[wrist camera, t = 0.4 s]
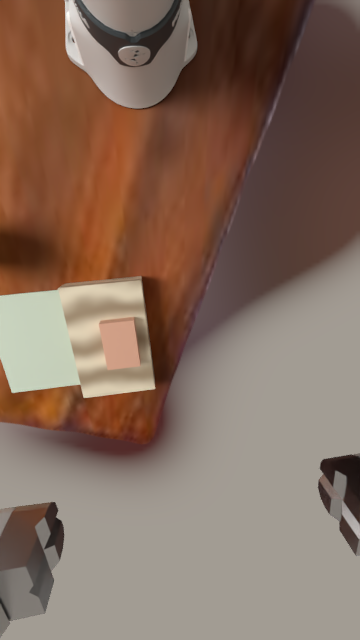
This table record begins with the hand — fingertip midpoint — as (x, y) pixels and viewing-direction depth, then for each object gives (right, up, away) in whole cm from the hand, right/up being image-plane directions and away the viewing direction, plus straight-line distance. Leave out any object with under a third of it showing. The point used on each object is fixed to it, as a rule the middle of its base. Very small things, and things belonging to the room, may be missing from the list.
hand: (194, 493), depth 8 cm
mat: (-29, +1, +44) cm, 52 cm away
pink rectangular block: (-11, +1, +41) cm, 43 cm away
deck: (-14, +2, +45) cm, 47 cm away
